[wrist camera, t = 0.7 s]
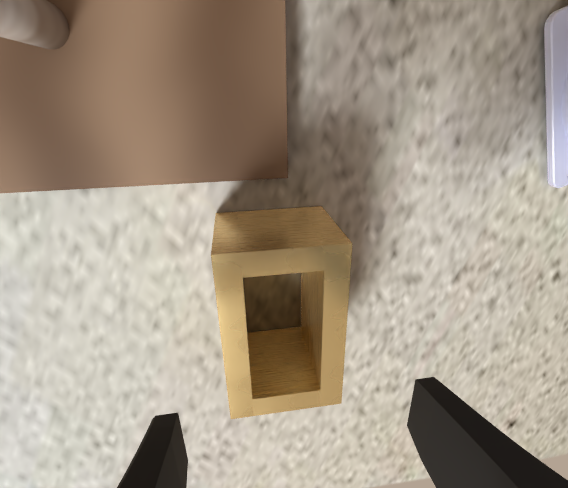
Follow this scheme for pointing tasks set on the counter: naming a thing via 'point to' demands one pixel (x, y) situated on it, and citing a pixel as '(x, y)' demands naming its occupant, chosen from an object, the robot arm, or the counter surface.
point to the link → (314, 308)
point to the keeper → (141, 92)
